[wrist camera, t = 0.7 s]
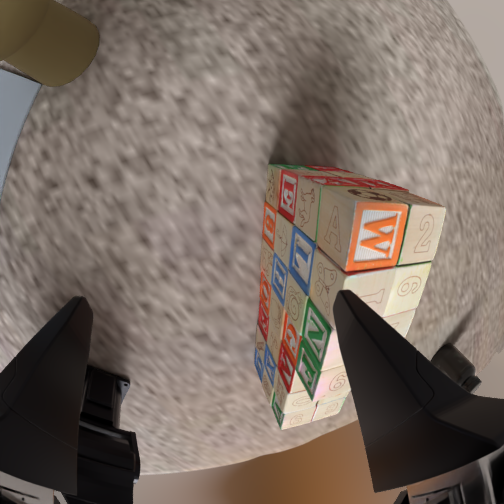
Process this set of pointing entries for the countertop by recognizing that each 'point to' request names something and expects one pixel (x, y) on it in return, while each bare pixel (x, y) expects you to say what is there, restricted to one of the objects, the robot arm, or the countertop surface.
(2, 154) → the mat
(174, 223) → the countertop surface
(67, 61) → the olive pawn
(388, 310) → the stack of blocks
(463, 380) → the supplement bottle
